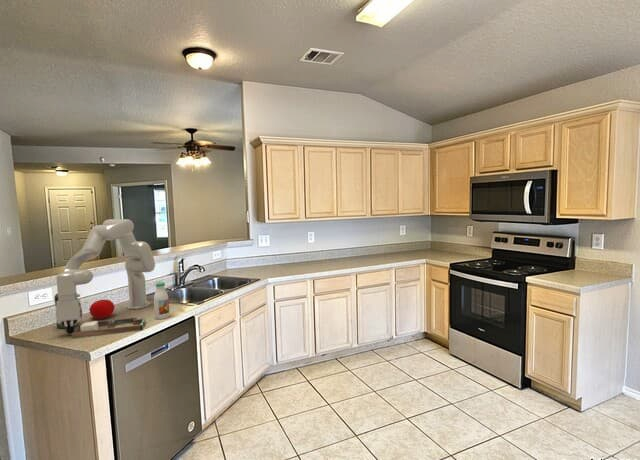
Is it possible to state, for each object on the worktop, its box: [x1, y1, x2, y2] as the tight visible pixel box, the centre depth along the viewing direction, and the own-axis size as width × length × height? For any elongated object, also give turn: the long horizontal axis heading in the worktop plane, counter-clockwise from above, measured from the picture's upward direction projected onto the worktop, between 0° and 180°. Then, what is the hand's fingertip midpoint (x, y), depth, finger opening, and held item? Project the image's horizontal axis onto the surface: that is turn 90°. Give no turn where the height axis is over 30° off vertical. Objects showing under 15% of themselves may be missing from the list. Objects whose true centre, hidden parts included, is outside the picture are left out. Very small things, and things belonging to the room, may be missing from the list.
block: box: [79, 320, 99, 332], centre depth 176 cm, size 6×6×5 cm
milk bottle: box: [153, 281, 170, 320], centre depth 198 cm, size 8×8×20 cm
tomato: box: [88, 299, 115, 320], centre depth 200 cm, size 11×12×10 cm
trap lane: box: [70, 316, 147, 339], centre depth 181 cm, size 15×31×2 cm, turn 108°
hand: (70, 333), depth 174 cm, fingers closed
